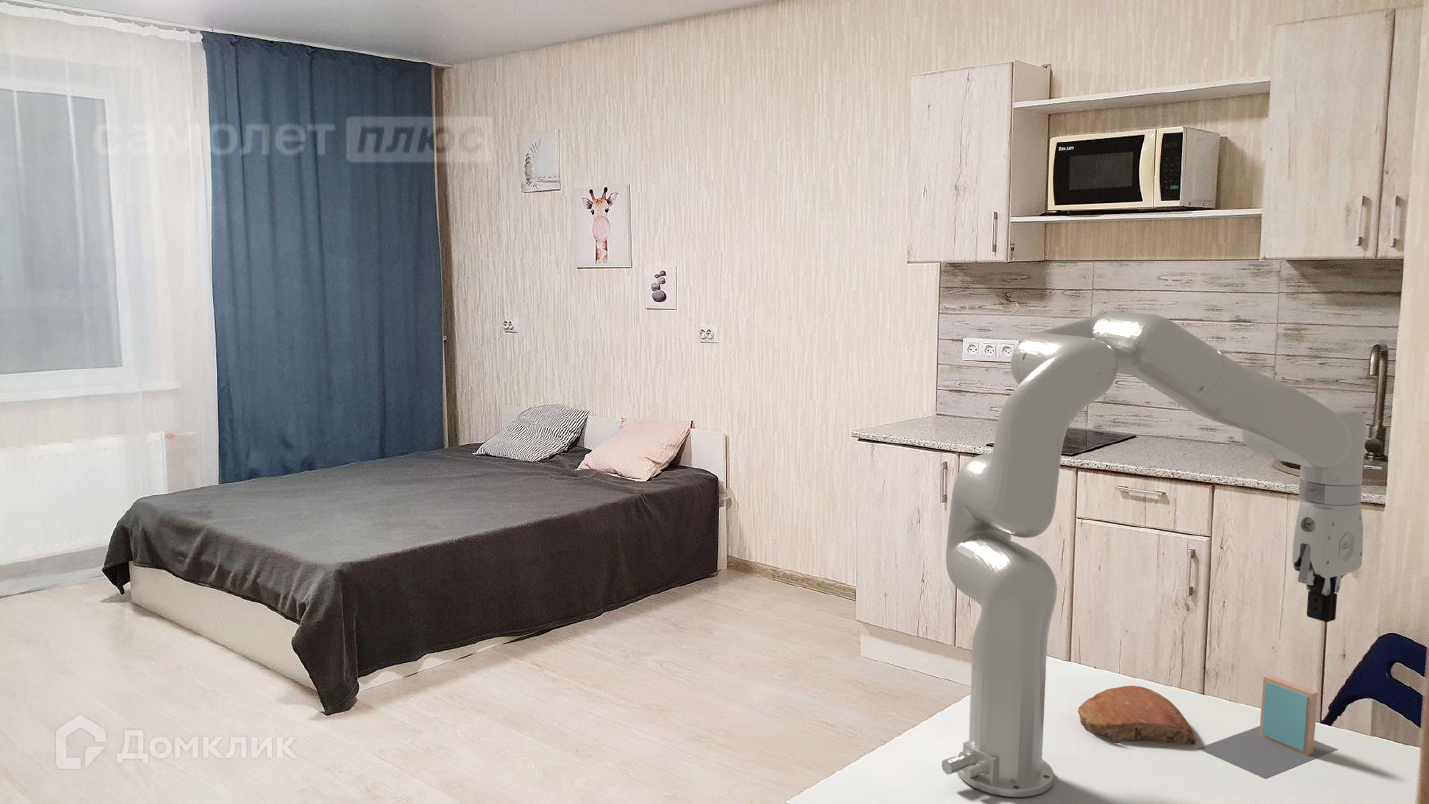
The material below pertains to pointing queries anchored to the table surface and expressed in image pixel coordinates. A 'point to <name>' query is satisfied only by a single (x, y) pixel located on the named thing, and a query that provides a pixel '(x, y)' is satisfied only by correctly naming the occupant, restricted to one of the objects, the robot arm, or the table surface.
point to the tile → (1288, 714)
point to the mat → (1261, 753)
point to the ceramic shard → (1135, 717)
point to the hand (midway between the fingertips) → (1320, 618)
